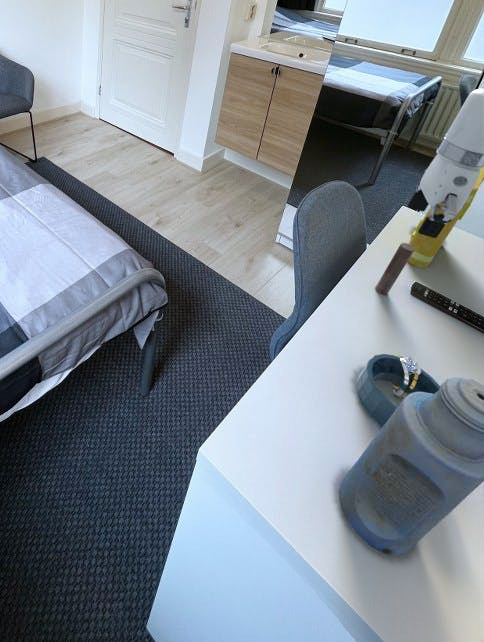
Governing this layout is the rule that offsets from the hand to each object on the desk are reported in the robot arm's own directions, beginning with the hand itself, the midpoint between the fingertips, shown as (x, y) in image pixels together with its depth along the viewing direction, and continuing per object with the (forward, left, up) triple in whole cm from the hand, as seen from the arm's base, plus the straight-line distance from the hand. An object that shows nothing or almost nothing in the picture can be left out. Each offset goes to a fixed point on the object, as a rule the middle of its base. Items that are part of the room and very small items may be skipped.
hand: (420, 221), depth 89 cm
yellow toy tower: (-14, -24, -22) cm, 36 cm away
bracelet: (+1, +26, -22) cm, 34 cm away
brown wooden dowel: (0, 0, -22) cm, 22 cm away
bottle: (+8, +50, -22) cm, 55 cm away
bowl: (+2, +30, -22) cm, 37 cm away
